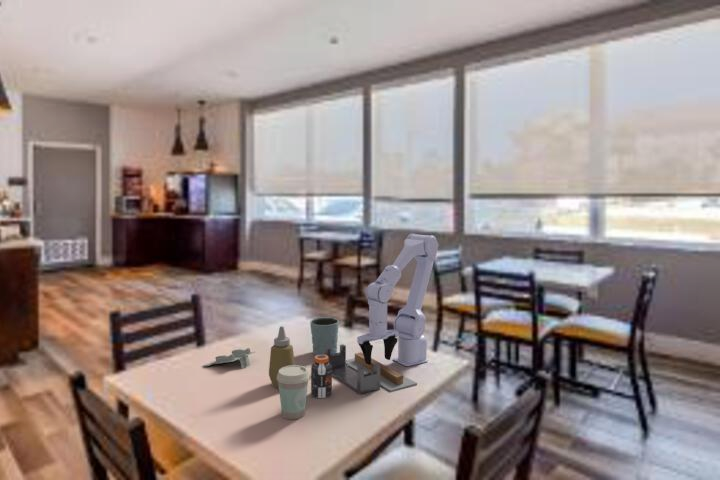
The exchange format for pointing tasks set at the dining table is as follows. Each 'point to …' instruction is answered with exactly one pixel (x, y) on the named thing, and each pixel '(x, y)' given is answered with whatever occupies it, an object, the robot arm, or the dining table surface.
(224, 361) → the metal bracket
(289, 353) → the squeeze bottle
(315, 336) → the teal tumbler
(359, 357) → the walnut bar
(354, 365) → the grey mat
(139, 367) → the dining table surface
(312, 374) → the pill bottle
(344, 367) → the dark grey cradle
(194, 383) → the dining table surface
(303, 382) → the coffee cup
